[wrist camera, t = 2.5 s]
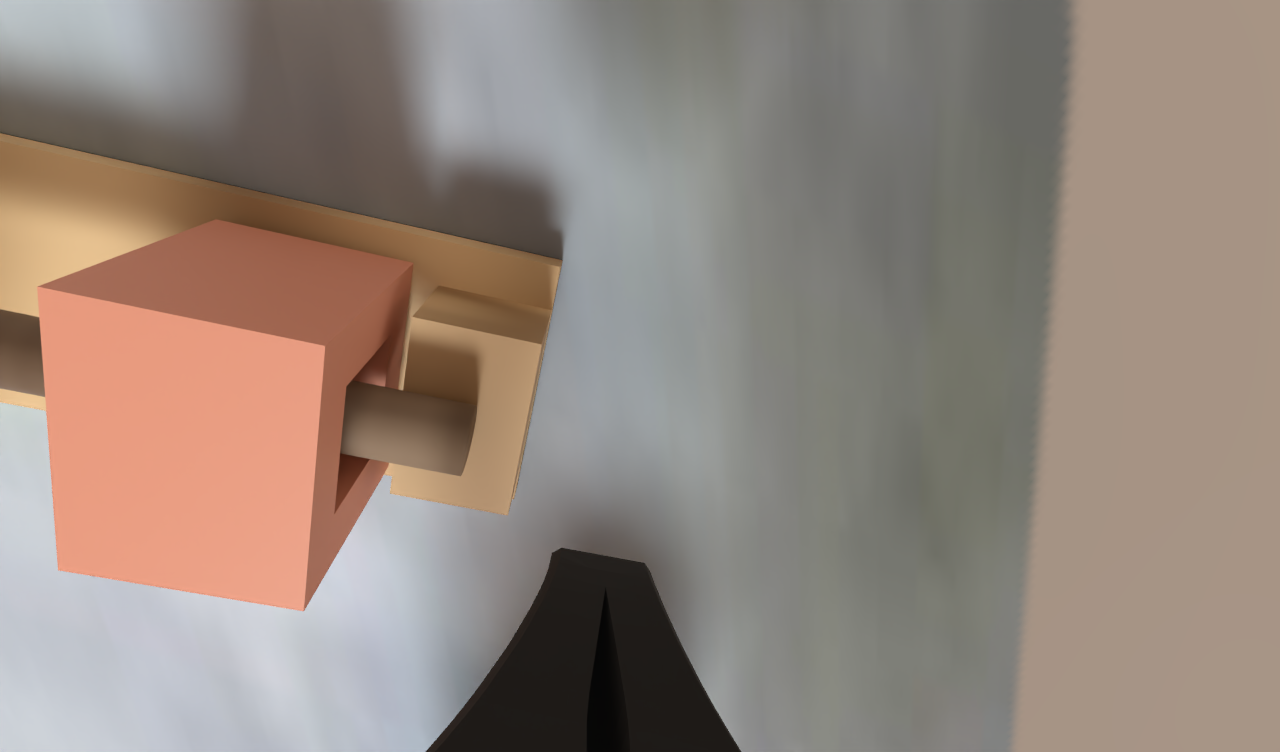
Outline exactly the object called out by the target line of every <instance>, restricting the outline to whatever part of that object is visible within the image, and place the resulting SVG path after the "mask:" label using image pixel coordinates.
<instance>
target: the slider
mask: <svg viewBox="0 0 1280 752" xmlns="http://www.w3.org/2000/svg"><path fill="white" fill-rule="evenodd" d="M412 272H413V263H412V262H407V261H403V260H398V259H394V258H389V257H385V256H380V255H376V254H371V253H367V252H362V251H358V250H353V249H349V248H344V247H340V246H335V245H330V244H326V243H321V242H317V241H312V240H308V239H303V238H299V237H294V236H290V235H285V234H281V233H276V232H272V231H267V230H263V229H258V228H253V227H249V226H244V225H240V224H235V223H231V222H226V221H222V220H217V219H215V220H213V221H210V222H207V223H205V224H202V225H199V226H197V227H194V228H191V229H189V230H186V231H183V232H181V233H178V234H175V235H173V236H170V237H168V238H165V239H162V240H160V241H157V242H154V243H152V244H149V245H146V246H144V247H141V248H138V249H136V250H133V251H130V252H128V253H125V254H122V255H120V256H117V257H114V258H112V259H109V260H106V261H104V262H101V263H98V264H96V265H93V266H90V267H88V268H85V269H82V270H80V271H77V272H74V273H72V274H69V275H67V276H64V277H61V278H59V279H56V280H53V281H51V282H48V283H45V284H43V285H40V286H37V293H38V306H39V320H40V333H41V346H42V360H43V373H44V387H45V400H46V413H47V427H48V440H49V454H50V467H51V480H52V494H53V507H54V521H55V534H56V547H57V561H58V570H60V571H66V572H72V573H78V574H84V575H90V576H96V577H102V578H108V579H114V580H120V581H126V582H132V583H138V584H144V585H150V586H156V587H162V588H168V589H174V590H180V591H186V592H192V593H198V594H204V595H210V596H216V597H222V598H228V599H234V600H240V601H246V602H252V603H258V604H264V605H270V606H276V607H282V608H288V609H294V610H299V611H304V610H305V608H306V607H307V605H308V603H309V601H310V600H311V598H312V596H313V595H314V593H315V591H316V589H317V588H318V586H319V584H320V583H321V581H322V579H323V578H324V576H325V574H326V572H327V571H328V569H329V567H330V566H331V564H332V562H333V560H334V559H335V557H336V555H337V554H338V552H339V550H340V548H341V547H342V545H343V543H344V542H345V540H346V538H347V536H348V535H349V533H350V531H351V530H352V528H353V526H354V525H355V523H356V521H357V519H358V518H359V516H360V514H361V513H362V511H363V509H364V507H365V506H366V504H367V502H368V501H369V499H370V497H371V495H372V494H373V492H374V490H375V489H376V487H377V485H378V483H379V482H380V480H381V478H382V477H383V475H384V473H385V472H386V470H387V468H388V466H389V463H388V462H383V461H378V460H372V459H367V458H362V457H357V456H351V455H346V454H341V453H340V448H341V438H342V427H343V417H344V406H345V396H346V386H347V385H348V384H349V383H350V382H351V380H354V381H359V382H364V383H369V384H373V385H378V386H383V387H388V388H393V389H398V385H399V377H400V369H401V361H402V352H403V344H404V336H405V328H406V320H407V312H408V304H409V296H410V288H411V280H412Z"/></svg>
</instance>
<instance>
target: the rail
mask: <svg viewBox="0 0 1280 752" xmlns="http://www.w3.org/2000/svg"><path fill="white" fill-rule="evenodd" d="M215 219H217V220H222V221H226V222H231V223H235V224H240V225H244V226H249V227H253V228H258V229H263V230H267V231H272V232H276V233H281V234H285V235H290V236H294V237H299V238H303V239H308V240H312V241H317V242H321V243H326V244H330V245H335V246H340V247H344V248H349V249H353V250H358V251H362V252H367V253H371V254H376V255H380V256H385V257H389V258H394V259H398V260H403V261H407V262H412V263H413V272H412V280H411V288H410V296H409V304H408V312H407V320H406V328H405V336H404V344H403V352H402V361H401V369H400V377H399V385H398V389H393V388H388V387H383V386H378V385H373V384H369V383H364V382H359V381H354V380H351V382H350V383H349V384H348V385H347V386H346V396H345V406H344V417H343V427H342V438H341V448H340V453H341V454H346V455H351V456H357V457H362V458H367V459H372V460H378V461H383V462H388V463H389V466H388V468H387V470H386V472H385V473H384V475H389V476H392V481H391V489H390V494H395V495H401V496H406V497H412V498H417V499H422V500H428V501H433V502H438V503H444V504H449V505H454V506H460V507H465V508H471V509H476V510H481V511H487V512H492V513H497V514H503V515H508V513H509V509H510V505H511V501H512V499H514V496H515V492H516V488H517V484H518V479H519V474H520V469H521V464H522V459H523V454H524V449H525V444H526V439H527V434H528V429H529V424H530V419H531V415H532V410H533V405H534V400H535V395H536V390H537V385H538V380H539V375H540V370H541V365H542V360H543V355H544V350H545V345H546V340H547V335H548V330H549V325H550V320H551V315H552V310H553V305H554V300H555V295H556V290H557V285H558V280H559V275H560V271H561V266H562V261H563V260H559V259H554V258H550V257H546V256H541V255H537V254H532V253H528V252H523V251H519V250H515V249H510V248H506V247H501V246H497V245H493V244H488V243H484V242H479V241H475V240H470V239H466V238H462V237H457V236H453V235H448V234H444V233H439V232H435V231H431V230H426V229H422V228H417V227H413V226H409V225H404V224H400V223H395V222H391V221H386V220H382V219H378V218H373V217H369V216H364V215H360V214H355V213H351V212H347V211H342V210H338V209H333V208H329V207H325V206H320V205H316V204H311V203H307V202H302V201H298V200H294V199H289V198H285V197H280V196H276V195H271V194H267V193H263V192H258V191H254V190H249V189H245V188H240V187H236V186H232V185H227V184H223V183H218V182H214V181H210V180H205V179H201V178H196V177H192V176H187V175H183V174H179V173H174V172H170V171H165V170H161V169H156V168H152V167H148V166H143V165H139V164H134V163H130V162H126V161H121V160H117V159H112V158H108V157H103V156H99V155H95V154H90V153H86V152H81V151H77V150H72V149H68V148H64V147H59V146H55V145H50V144H46V143H42V142H37V141H33V140H28V139H24V138H19V137H15V136H11V135H6V134H2V133H0V402H2V403H8V404H13V405H18V406H24V407H29V408H34V409H39V410H45V411H46V400H45V387H44V373H43V360H42V346H41V333H40V320H39V306H38V293H37V286H40V285H43V284H45V283H48V282H51V281H53V280H56V279H59V278H61V277H64V276H67V275H69V274H72V273H74V272H77V271H80V270H82V269H85V268H88V267H90V266H93V265H96V264H98V263H101V262H104V261H106V260H109V259H112V258H114V257H117V256H120V255H122V254H125V253H128V252H130V251H133V250H136V249H138V248H141V247H144V246H146V245H149V244H152V243H154V242H157V241H160V240H162V239H165V238H168V237H170V236H173V235H175V234H178V233H181V232H183V231H186V230H189V229H191V228H194V227H197V226H199V225H202V224H205V223H207V222H210V221H213V220H215Z"/></svg>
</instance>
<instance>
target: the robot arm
mask: <svg viewBox="0 0 1280 752" xmlns="http://www.w3.org/2000/svg"><path fill="white" fill-rule="evenodd" d="M426 752H741V750H740V749H739V747H738V746H737V744H736V742H735V741H734V739H733V738H732V736H731V734H730V733H729V731H728V729H727V728H726V726H725V724H724V723H723V721H722V719H721V718H720V716H719V714H718V712H717V711H716V709H715V707H714V706H713V704H712V702H711V700H710V698H709V697H708V695H707V693H706V691H705V689H704V688H703V686H702V684H701V682H700V680H699V678H698V676H697V674H696V672H695V670H694V668H693V666H692V664H691V662H690V661H689V659H688V657H687V655H686V653H685V651H684V649H683V647H682V645H681V643H680V641H679V638H678V636H677V634H676V632H675V630H674V628H673V626H672V623H671V621H670V619H669V617H668V614H667V612H666V610H665V608H664V605H663V603H662V601H661V598H660V596H659V593H658V591H657V588H656V586H655V583H654V581H653V578H652V576H651V573H650V571H649V569H648V568H647V566H646V565H645V563H641V562H635V561H630V560H624V559H619V558H614V557H608V556H603V555H597V554H592V553H587V552H581V551H576V550H570V549H565V548H560V549H559V550H557V551H555V552H553V553H552V556H551V560H550V565H549V569H548V572H547V575H546V577H545V580H544V582H543V584H542V586H541V589H540V591H539V593H538V595H537V596H536V598H535V600H534V602H533V604H532V606H531V608H530V610H529V612H528V613H527V615H526V617H525V618H524V620H523V622H522V623H521V625H520V627H519V628H518V630H517V632H516V633H515V635H514V637H513V638H512V640H511V642H510V643H509V645H508V646H507V648H506V649H505V651H504V652H503V654H502V655H501V657H500V658H499V659H498V661H497V662H496V664H495V665H494V666H493V668H492V669H491V671H490V672H489V673H488V675H487V676H486V678H485V679H484V681H483V682H482V683H481V685H480V686H479V688H478V689H477V690H476V692H475V693H474V694H473V696H472V697H471V698H470V699H469V701H468V702H467V703H466V704H465V706H464V707H463V708H462V710H461V711H460V712H459V713H458V714H457V716H456V717H455V718H454V719H453V721H452V722H451V723H450V724H449V725H448V727H447V728H446V729H445V730H444V731H443V732H442V734H441V735H440V736H439V737H438V738H437V740H436V741H435V742H434V743H433V744H432V745H431V746H430V748H429V749H428V750H427V751H426Z"/></svg>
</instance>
